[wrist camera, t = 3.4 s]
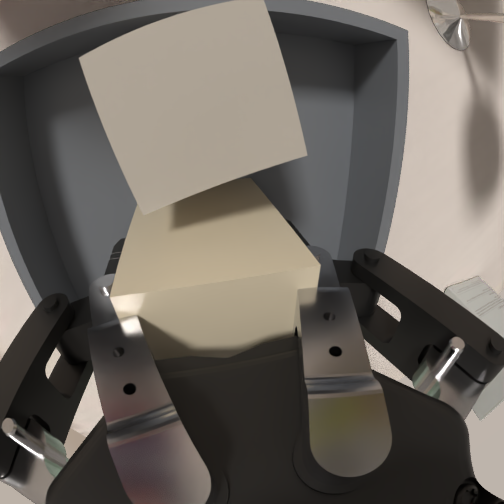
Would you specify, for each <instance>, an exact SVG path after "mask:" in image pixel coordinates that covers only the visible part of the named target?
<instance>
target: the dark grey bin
mask: <svg viewBox="0 0 504 504" xmlns="http://www.w3.org/2000/svg"><path fill="white" fill-rule="evenodd" d="M229 1H234V0H139V1H134V2H129V3H125V4H120V5H116V6H112V7H108V8H104V9H100V10H97V11H93V12H90V13H87V14H84V15H81V16H78V17H75V18H72V19H69V20H66V21H64V22H61V23H59V24H56V25H54V26H51V27H49V28H46V29H44V30H42V31H40V32H37V33H35V34H33V35H31V36H29V37H27V38H25V39H23V40H21V41H19V42H17V43H15V44H13V45H11V46H10V47H8V48H6V49H4V50H3V51H1V52H0V231H1V233H2V236H3V239H4V241H5V244H6V247H7V249H8V252H9V254H10V256H11V259H12V261H13V263H14V266H15V268H16V270H17V272H18V274H19V276H20V279H21V281H22V283H23V285H24V287H25V289H26V291H27V293H28V295H29V296H30V298H31V300H32V302H33V304H34V306H35V308H36V307H37V306H38V304H39V303H40V302H41V301H42V300H43V299H44V298H46V297H47V296H49V295H52V294H55V293H62V294H65V295H66V296H67V297H68V299H69V301H70V303H72V302H74V301H77V300H80V299H82V298H85V297H87V296H89V288H90V286H91V284H92V283H93V282H94V281H95V280H97V279H98V278H100V277H102V276H104V274H105V271H106V268H107V265H108V262H109V260H110V256H111V254H112V250H113V247H114V245H115V244H116V243H117V242H118V241H119V240H120V239H122V238H126V236H127V233H128V230H129V227H130V224H131V221H132V218H133V215H134V212H135V209H136V207H137V201H136V199H135V197H134V195H133V193H132V191H131V189H130V187H129V185H128V183H127V180H126V178H125V176H124V174H123V172H122V169H121V167H120V165H119V163H118V160H117V158H116V156H115V154H114V151H113V149H112V147H111V144H110V142H109V139H108V137H107V135H106V132H105V130H104V127H103V125H102V122H101V120H100V117H99V114H98V112H97V109H96V107H95V104H94V101H93V98H92V96H91V93H90V90H89V87H88V84H87V82H86V79H85V76H84V73H83V70H82V67H81V63H80V60H79V58H80V57H81V56H83V55H85V54H87V53H88V52H90V51H92V50H94V49H96V48H98V47H100V46H102V45H103V44H105V43H107V42H110V41H112V40H114V39H116V38H118V37H120V36H122V35H124V34H127V33H129V32H131V31H134V30H136V29H139V28H141V27H143V26H146V25H149V24H151V23H154V22H157V21H159V20H162V19H165V18H168V17H171V16H174V15H177V14H181V13H184V12H187V11H191V10H194V9H198V8H202V7H206V6H210V5H215V4H219V3H224V2H229ZM264 2H265V5H266V8H267V11H268V14H269V16H270V19H271V22H272V25H273V28H274V31H275V34H276V38H277V41H278V44H279V47H280V50H281V54H282V57H283V60H284V64H285V67H286V71H287V74H288V78H289V81H290V85H291V89H292V92H293V96H294V100H295V104H296V108H297V112H298V116H299V120H300V124H301V128H302V133H303V137H304V142H305V146H306V151H307V156H304V157H301V158H297V159H294V160H291V161H288V162H284V163H281V164H278V165H275V166H272V167H269V168H266V169H263V170H260V171H257V172H254V173H251V174H248V175H245V176H243V177H240V178H237V179H244V178H251V179H252V180H253V181H254V182H255V184H256V185H257V186H258V187H259V188H260V190H261V191H262V192H263V193H264V194H265V196H266V197H267V198H268V199H269V200H270V202H271V203H272V204H273V205H274V207H275V208H276V209H277V210H278V211H279V213H280V214H281V215H282V216H283V218H285V219H287V220H289V221H291V222H292V223H293V225H294V226H295V227H296V228H297V230H298V231H299V233H301V234H302V236H303V237H304V238H305V239H306V241H307V242H308V243H309V244H310V246H317V247H320V248H323V249H325V250H326V251H328V252H329V253H330V255H331V257H332V259H333V260H348V261H352V259H353V254H354V252H355V251H356V250H358V249H362V248H369V249H375V250H378V251H380V252H382V253H384V252H385V248H386V244H387V240H388V235H389V231H390V227H391V222H392V217H393V213H394V208H395V202H396V197H397V192H398V186H399V180H400V174H401V167H402V160H403V152H404V144H405V134H406V124H407V110H408V91H409V43H408V30H405V29H403V28H401V27H398V26H396V25H393V24H390V23H388V22H385V21H382V20H379V19H377V18H374V17H371V16H368V15H364V14H361V13H358V12H354V11H351V10H347V9H344V8H340V7H336V6H332V5H327V4H323V3H318V2H313V1H308V0H264Z"/></svg>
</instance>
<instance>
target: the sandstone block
mask: <svg viewBox="0 0 504 504" xmlns="http://www.w3.org/2000/svg"><path fill="white" fill-rule="evenodd" d="M320 266H321V265H320V264H319V262H318V261H317V260H316V258H315V257H314V256H313V254H312V253H311V252H310V251H309V249H308V248H307V247H306V245H305V244H304V243H303V242H302V240H301V239H300V238H299V236H298V235H297V234H296V233H295V231H294V230H293V229H292V228H291V226H290V225H289V224H288V223H287V221H286V220H285V219H284V218H283V216H282V215H281V214H280V213H279V211H278V210H277V209H276V208H275V207H274V205H273V204H272V203H271V202H270V200H269V199H268V198H267V197H266V196H265V194H264V193H263V192H262V191H261V190H260V188H259V187H258V186H257V185H256V184H255V182H254V181H253V180H252V179H251V178H244V179H234V180H231V181H229V182H226V183H223V184H220V185H218V186H215V187H212V188H210V189H207V190H205V191H202V192H199V193H197V194H194V195H192V196H189V197H187V198H184V199H182V200H179V201H177V202H174V203H172V204H169V205H167V206H165V207H162V208H160V209H158V210H155V211H153V212H151V213H148V214H146V215H144V216H143V214H142V212H141V210H140V208H139V206H138V204H137V207H136V209H135V212H134V215H133V218H132V221H131V224H130V227H129V230H128V233H127V236H126V239H125V243H124V246H123V249H122V253H121V256H120V259H119V263H118V266H117V270H116V274H115V278H114V281H113V285H112V289H111V293H110V299H111V302H112V304H113V307H114V309H115V311H116V314H117V316H118V318H123V317H127V316H132V315H137V317H138V320H139V322H140V325H141V327H142V330H143V332H144V335H145V337H146V339H147V342H148V344H149V346H150V349H151V351H152V353H153V355H154V358H155V360H161V359H169V358H177V357H185V356H199V357H218V358H228V357H232V356H234V355H237V354H239V353H241V352H244V351H246V350H248V349H251V348H253V347H255V346H258V345H260V344H262V343H266V342H271V341H276V340H280V339H285V338H289V337H292V332H293V324H294V316H295V308H296V299H297V290H298V289H303V288H313V287H317V286H318V280H319V273H320Z"/></svg>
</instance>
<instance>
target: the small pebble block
mask: <svg viewBox="0 0 504 504" xmlns="http://www.w3.org/2000/svg"><path fill="white" fill-rule="evenodd" d="M79 60H80V63H81V67H82V70H83V73H84V76H85V79H86V82H87V84H88V87H89V90H90V93H91V96H92V98H93V101H94V104H95V107H96V109H97V112H98V114H99V117H100V120H101V122H102V125H103V127H104V130H105V132H106V135H107V137H108V139H109V142H110V144H111V147H112V149H113V151H114V154H115V156H116V158H117V160H118V163H119V165H120V167H121V169H122V172H123V174H124V176H125V178H126V180H127V183H128V185H129V187H130V189H131V191H132V193H133V195H134V197H135V199H136V201H137V204H138V206H139V208H140V210H141V212H142V214H143V216H144V215H146V214H148V213H151V212H153V211H155V210H158V209H160V208H162V207H165V206H167V205H169V204H172V203H174V202H177V201H179V200H182V199H184V198H187V197H189V196H192V195H194V194H197V193H199V192H202V191H205V190H207V189H210V188H212V187H215V186H218V185H220V184H223V183H226V182H229V181H231V180H234V179H237V178H240V177H243V176H245V175H248V174H251V173H254V172H257V171H260V170H263V169H266V168H269V167H272V166H275V165H278V164H281V163H284V162H288V161H291V160H294V159H297V158H301V157H304V156H307V151H306V146H305V142H304V137H303V133H302V128H301V124H300V120H299V116H298V112H297V108H296V104H295V100H294V96H293V92H292V89H291V85H290V81H289V78H288V74H287V71H286V67H285V64H284V60H283V57H282V54H281V50H280V47H279V44H278V41H277V38H276V34H275V31H274V28H273V25H272V22H271V19H270V16H269V14H268V11H267V8H266V5H265V2H264V0H234V1H229V2H224V3H219V4H215V5H210V6H206V7H202V8H198V9H194V10H191V11H187V12H184V13H181V14H177V15H174V16H171V17H168V18H165V19H162V20H159V21H157V22H154V23H151V24H149V25H146V26H143V27H141V28H139V29H136V30H134V31H131V32H129V33H127V34H124V35H122V36H120V37H118V38H116V39H114V40H112V41H110V42H107V43H105V44H103V45H102V46H100V47H98V48H96V49H94V50H92V51H90V52H88V53H87V54H85V55H83V56H81V57H80V58H79Z"/></svg>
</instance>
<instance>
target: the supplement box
mask: <svg viewBox="0 0 504 504" xmlns="http://www.w3.org/2000/svg"><path fill="white" fill-rule="evenodd" d="M444 294H446V295H447V296H449V297H450V298H451V299H453V300H454V301H456V302H457V303H458V304H460V305H461V306H463V307H464V308H465V309H467V310H468V311H469V312H471V313H472V314H473V315H475V316H476V317H478V318H479V319H480V320H481V321H483V322H484V323H485V324H487V325H488V326H489V327H491V328H492V329H493V330H494V331H496V332H497V333H498V334H500V335H501V336H502V337H503V338H504V300H503V299H502V298H501V297H500V296H499V295H498V294H497V293H496V292H495V291H494V290H493V289H492V288H491V287H490V286H489V285H488V284H487V283H486V282H485V281H484V280H482V279H481V278H480V277H479V276H477V277H475V278H472V279H470V280H467V281H464V282H461V283H459V284H456V285H453V286H450V287H447V289H446V290H445V292H444ZM503 400H504V368H503V369H502V370H501V371H500V372H499V373H498V375H497V376H496V377H495V378H494V379H493V380H492V381H491V383H490V384H489V385H488V386H487V387H486V388H485V389H484V390H483V391H482V393H481V394H480V396H479V398H478V399H477V401H476V403H475V404H474V406H473V408H472V409H473V411H474V412H475V414H476V415H477V417H478V418H479V420H482V419H484V418H485V417H486V416H487V415H488V414H489V413H491V412H492V411H493V410H494V409H495V408H496V407H497V406H498V405H499V404H500V403H501V402H502V401H503Z"/></svg>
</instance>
